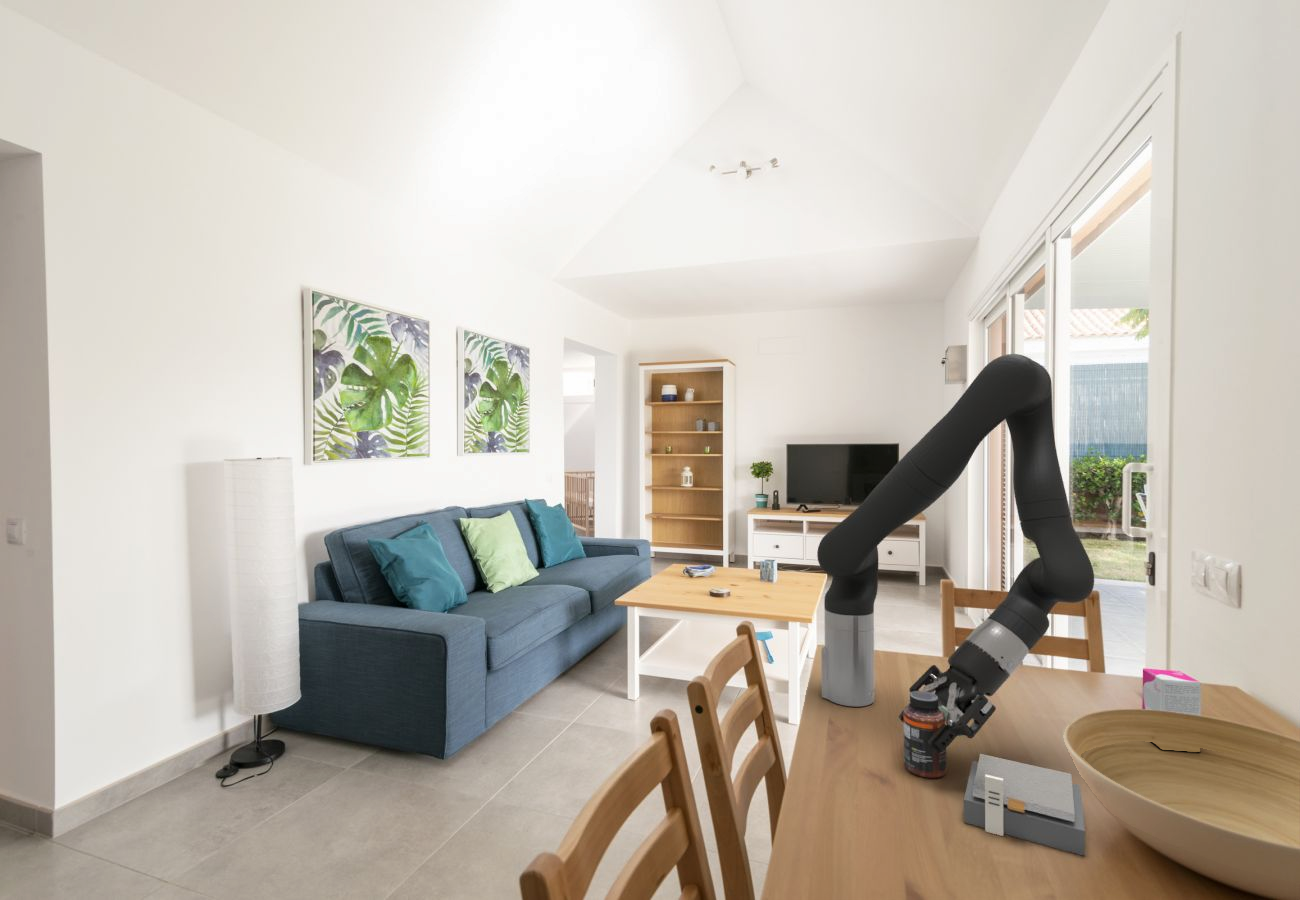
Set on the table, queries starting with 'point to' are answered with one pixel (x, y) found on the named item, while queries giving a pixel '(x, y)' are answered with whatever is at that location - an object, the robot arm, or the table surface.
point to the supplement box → (1171, 692)
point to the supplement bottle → (923, 735)
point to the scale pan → (1028, 787)
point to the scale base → (1023, 817)
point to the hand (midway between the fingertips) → (917, 735)
